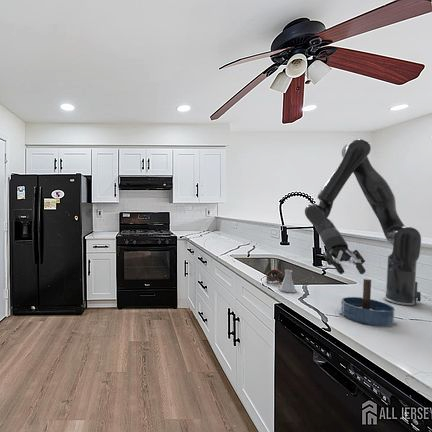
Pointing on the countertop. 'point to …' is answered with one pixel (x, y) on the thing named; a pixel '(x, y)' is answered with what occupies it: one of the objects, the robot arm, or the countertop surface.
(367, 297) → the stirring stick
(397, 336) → the countertop surface
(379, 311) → the mixing bowl
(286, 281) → the flask
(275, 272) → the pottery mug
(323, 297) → the countertop surface
